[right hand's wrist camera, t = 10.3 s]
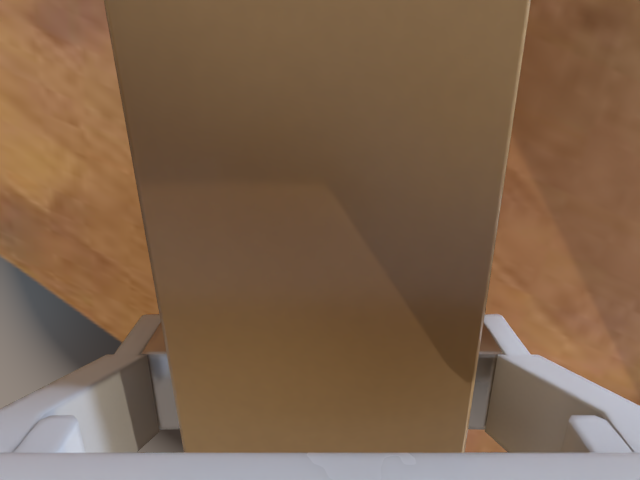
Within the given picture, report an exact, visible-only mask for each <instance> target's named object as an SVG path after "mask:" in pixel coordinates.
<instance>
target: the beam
mask: <svg viewBox="0 0 640 480" xmlns="http://www.w3.org/2000/svg"><path fill="white" fill-rule="evenodd" d="M530 2H531V0H104V4H105V10H106V15H107V21H108V26H109V32H110V38H111V43H112V49H113V55H114V60H115V66H116V71H117V77H118V83H119V88H120V94H121V100H122V105H123V111H124V116H125V122H126V128H127V133H128V139H129V145H130V150H131V156H132V162H133V167H134V173H135V178H136V184H137V190H138V195H139V201H140V207H141V212H142V218H143V223H144V229H145V235H146V240H147V246H148V252H149V257H150V263H151V269H152V274H153V280H154V285H155V291H156V297H157V302H158V308H159V314H160V319H161V325H162V330H163V336H164V342H165V347H166V353H167V359H168V364H169V370H170V375H171V381H172V387H173V392H174V398H175V404H176V409H177V415H178V421H179V426H180V432H181V437H182V443H183V449H184V453H464V452H465V445H466V439H467V432H468V425H469V418H470V411H471V405H472V398H473V391H474V384H475V377H476V370H477V364H478V357H479V350H480V343H481V336H482V330H483V323H484V316H485V309H486V302H487V295H488V289H489V282H490V275H491V268H492V261H493V255H494V248H495V241H496V234H497V227H498V220H499V214H500V207H501V200H502V193H503V186H504V180H505V173H506V166H507V159H508V152H509V145H510V139H511V132H512V125H513V118H514V111H515V105H516V98H517V91H518V84H519V77H520V70H521V64H522V57H523V50H524V43H525V36H526V30H527V23H528V16H529V9H530Z"/></svg>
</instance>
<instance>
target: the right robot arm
mask: <svg viewBox="0 0 640 480" xmlns="http://www.w3.org/2000/svg"><path fill="white" fill-rule="evenodd" d="M160 429H180V426H179V421H178V415H177V409H176V404H175V398H174V392H173V387H172V381H171V375H170V370H169V364H168V359H167V353H166V347H165V342H164V336H163V330H162V325H161V319H160V314H147V315H142V316H141V318H140V319H139V320H138V322H137V323H136V324H135V326H134V327H133V329H132V330H131V331H130V333H129V334H128V336H127V337H126V338H125V340H124V341H123V342H122V344H121V345H120V347H119V348H118V349H117V351H116V352H115V354H114V355H105V356H103V357H101V358H99V359H97V360H95V361H93V362H91V363H90V364H87V365H85V366H84V367H82V368H80V369H78V370H76V371H74V372H72V373H70V374H68V375H66V376H64V377H62V378H60V379H58V380H56V381H54V382H52V383H50V384H48V385H46V386H44V387H42V388H40V389H38V390H36V391H34V392H32V393H30V394H28V395H26V396H24V397H22V398H20V399H18V400H16V401H14V402H12V403H11V404H8V405H7V406H5V407H3V408H1V409H0V480H640V406H639V405H637V404H635V403H633V402H631V401H629V400H627V399H625V398H623V397H621V396H619V395H617V394H615V393H613V392H611V391H609V390H607V389H605V388H603V387H601V386H599V385H597V384H595V383H593V382H591V381H589V380H587V379H585V378H583V377H581V376H579V375H577V374H575V373H573V372H571V371H569V370H567V369H565V368H563V367H561V366H559V365H557V364H555V363H553V362H551V361H549V360H547V359H545V358H543V357H541V356H539V355H531V354H530V353H529V351H528V350H527V349H526V347H525V346H524V345H523V343H522V342H521V341H520V339H519V338H518V337H517V335H516V334H515V333H514V331H513V330H512V329H511V327H510V326H509V324H508V323H507V322H506V320H505V319H504V318H503V316H501V315H499V314H485V316H484V323H483V330H482V336H481V343H480V350H479V357H478V364H477V370H476V377H475V384H474V391H473V398H472V405H471V411H470V418H469V425H468V429H484V430H485V432H486V433H487V434H488V435H489V436H491V437H492V438H493V439H494V440H495V441H496V442H497V443H498V444H499V445H501V446H502V447H503V448H504V449H505V450H506V451H507V452H508V453H136V452H138V451H139V450H140V449H141V448H142V447H143V446H144V445H145V444H146V443H147V442H149V441H150V440H151V439H152V438H153V437H154V436H155V435H156V434H157V433H158V432H159V430H160Z"/></svg>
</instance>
